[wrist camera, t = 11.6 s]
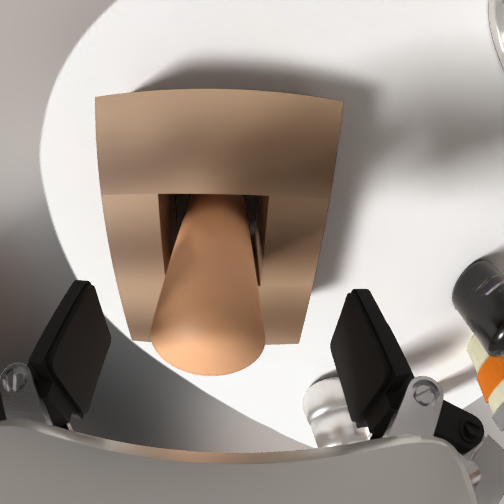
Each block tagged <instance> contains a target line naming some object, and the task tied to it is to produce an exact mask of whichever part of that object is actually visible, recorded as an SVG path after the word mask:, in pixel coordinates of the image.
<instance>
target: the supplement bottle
mask: <svg viewBox="0 0 504 504" xmlns="http://www.w3.org/2000/svg"><path fill="white" fill-rule="evenodd" d="M452 302H453V305H454V306H455V308H456V309H457V311H458V312H459V314H460V315H461V316H462V318H463V319H464V320H465V322H466V323H467V325H468V326H469V327H470V329H471V330H472V332H473V333H474V335H475V336H476V337H477V339H478V340H479V342H480V343H481V345H482V346H483V348H484V349H485V351H486V352H487V354H488V355H489V356H491V357H495V358H498V357H502V356H503V362H504V275H503V274H502V273H501V272H500V271H499V270H498V269H497V268H496V267H495V266H494V265H493V264H492V263H490V262H489V261H486V260H481V261H478V262H475V263H474V264H472V265H471V266H469V267H468V268H467V269H466V270H465V271H464V272H463V273H462V275H461V276H460V277H459V279H458V281H457V282H456V284H455V287H454V289H453V293H452Z"/></svg>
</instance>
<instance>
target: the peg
mask: <svg viewBox="0 0 504 504" xmlns="http://www.w3.org/2000/svg"><path fill="white" fill-rule="evenodd" d="M150 336H151V341H152V344H153V346H154V348H155V350H156V351H157V353H158V354H159V355H160V356H161V357H162V358H163V359H164V360H165V361H166V362H167V363H169V364H171V365H172V366H174V367H176V368H178V369H180V370H182V371H185V372H188V373H192V374H197V375H204V376H219V375H226V374H231V373H234V372H237V371H240V370H242V369H244V368H246V367H248V366H249V365H251V364H252V363H253V362H255V361H256V360H257V358H258V357H259V356H260V355H261V353H262V351H263V349H264V346H265V331H264V324H263V318H262V311H261V304H260V297H259V291H258V284H257V277H256V270H255V264H254V257H253V250H252V244H251V237H250V230H249V223H248V217H247V210H246V203H245V200H244V198H243V196H242V195H235V194H192V196H191V198H190V200H189V203H188V206H187V209H186V212H185V215H184V218H183V221H182V224H181V227H180V230H179V233H178V236H177V239H176V242H175V246H174V249H173V252H172V255H171V259H170V262H169V265H168V269H167V272H166V275H165V279H164V282H163V286H162V289H161V293H160V297H159V300H158V304H157V308H156V311H155V315H154V319H153V323H152V327H151V334H150Z"/></svg>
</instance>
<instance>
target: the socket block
mask: <svg viewBox="0 0 504 504" xmlns="http://www.w3.org/2000/svg"><path fill="white" fill-rule="evenodd" d="M342 110H343V101H339V100H333V99H327V98H321V97H314V96H307V95H299V94H291V93H281V92H270V91H258V90H240V89H171V90H154V91H142V92H131V93H122V94H114V95H106V96H100V97H95V121H96V143H97V158H98V170H99V180H100V189H101V197H102V205H103V212H104V219H105V225H106V231H107V237H108V243H109V248H110V253H111V258H112V263H113V268H114V273H115V277H116V281H117V286H118V290H119V294H120V298H121V302H122V306H123V310H124V314H125V317H126V321H127V324H128V328H129V331H130V335H131V338H132V340H134V341H147V342H152V341H151V336H150V334H151V327H152V323H153V319H154V315H155V311H156V308H157V304H158V300H159V297H160V293H161V289H162V286H163V282H164V279H165V275H166V272H167V269H168V265H169V262H170V259H171V255H172V252H173V249H174V246H175V242H176V239H177V221H176V197H175V194H235V195H258V200H257V213H256V226H255V239H254V245H252V250H253V257H254V264H255V270H256V277H257V284H258V291H259V297H260V304H261V311H262V318H263V324H264V331H265V345H270V344H298V343H299V340H300V337H301V333H302V329H303V325H304V321H305V316H306V312H307V308H308V304H309V300H310V295H311V291H312V286H313V282H314V277H315V273H316V268H317V263H318V258H319V254H320V249H321V244H322V238H323V233H324V228H325V223H326V217H327V212H328V206H329V200H330V194H331V188H332V182H333V176H334V169H335V163H336V156H337V149H338V142H339V134H340V126H341V118H342Z"/></svg>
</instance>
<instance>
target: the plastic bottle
mask: <svg viewBox="0 0 504 504" xmlns="http://www.w3.org/2000/svg"><path fill="white" fill-rule="evenodd" d="M303 408H304V413H305V415H306V418H307V420H308V422H309V424H310V425H311V428H312V431H313V434H314V437H315V440H316V443H317V446H318V448H323V447H330V446H338V445H344V444H351V443H356V442H362V441H366V440H367V435H366V433H365V428H364V427H363V428H357V426H356V423H355V422H352V420H351V418H350V415H349V411H348V408H347V404H346V400H345V397H344V393H343V390H342V386H341V383H340V379H339V377H331V378H327V379H324V380H321V381H319V382H317V383H315V384H313V385H312V386H311V387H310V388H309V389H308V390H307V391H306V394H305V396H304V398H303Z"/></svg>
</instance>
